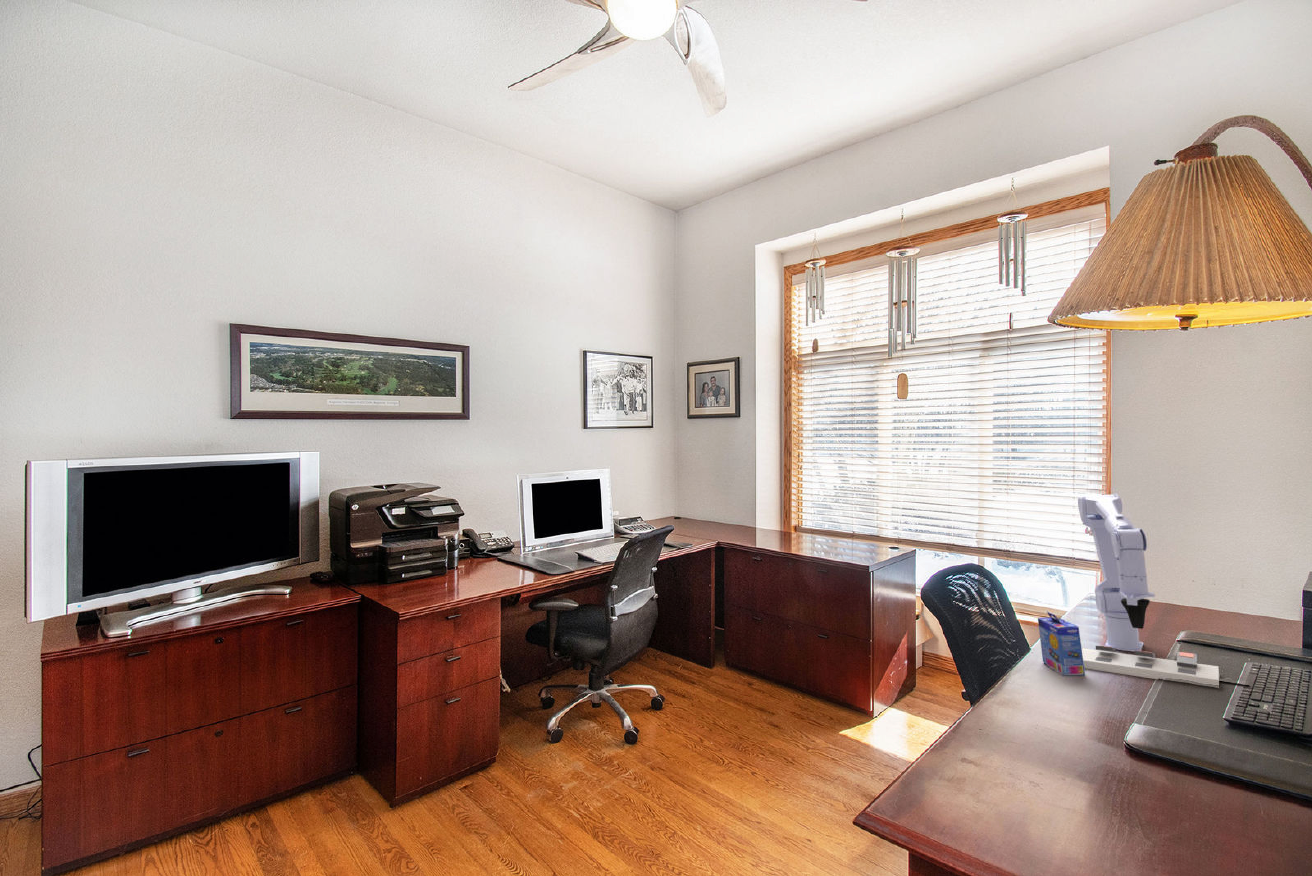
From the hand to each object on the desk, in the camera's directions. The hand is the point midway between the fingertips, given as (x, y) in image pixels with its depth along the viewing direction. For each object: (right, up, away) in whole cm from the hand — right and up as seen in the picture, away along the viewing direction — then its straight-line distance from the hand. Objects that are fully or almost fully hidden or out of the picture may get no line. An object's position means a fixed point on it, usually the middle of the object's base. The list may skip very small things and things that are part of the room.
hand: (1138, 627), depth 152 cm
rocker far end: (-6, -7, +3) cm, 10 cm away
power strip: (0, -9, -7) cm, 11 cm away
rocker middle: (-1, -6, -3) cm, 7 cm away
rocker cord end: (+5, -6, -8) cm, 11 cm away
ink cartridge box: (-20, -11, 0) cm, 23 cm away
